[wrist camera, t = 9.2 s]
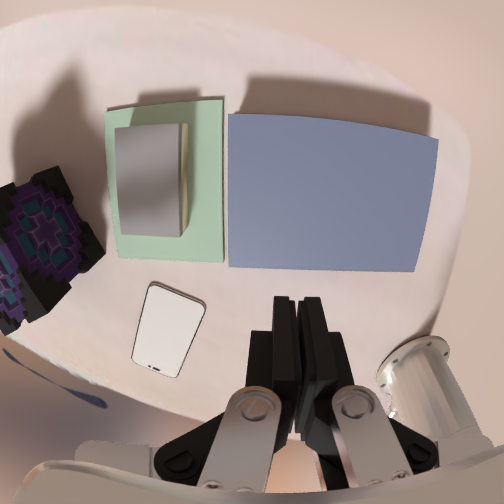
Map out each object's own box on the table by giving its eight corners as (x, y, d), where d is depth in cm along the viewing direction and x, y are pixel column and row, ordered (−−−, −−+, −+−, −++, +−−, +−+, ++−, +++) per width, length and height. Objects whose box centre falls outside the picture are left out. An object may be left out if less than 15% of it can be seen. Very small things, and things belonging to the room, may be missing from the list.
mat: (223, 261, 30) (223, 262, 29) (120, 256, 30) (118, 257, 30) (222, 100, 23) (222, 99, 22) (106, 112, 23) (104, 112, 23)
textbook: (398, 254, 28) (413, 272, 25) (233, 248, 29) (228, 266, 25) (417, 135, 23) (438, 139, 19) (233, 115, 23) (228, 114, 20)
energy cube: (54, 284, 33) (4, 336, 22) (13, 212, 28) (-47, 249, 17) (106, 253, 30) (48, 313, 19) (58, 165, 26) (-18, 195, 15)
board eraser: (121, 234, 25) (133, 223, 28) (179, 237, 25) (188, 226, 28) (114, 128, 21) (129, 126, 24) (178, 123, 21) (188, 123, 23)
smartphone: (208, 305, 32) (176, 380, 38) (209, 300, 33) (178, 374, 39) (149, 281, 31) (130, 361, 36) (152, 276, 32) (132, 356, 38)
